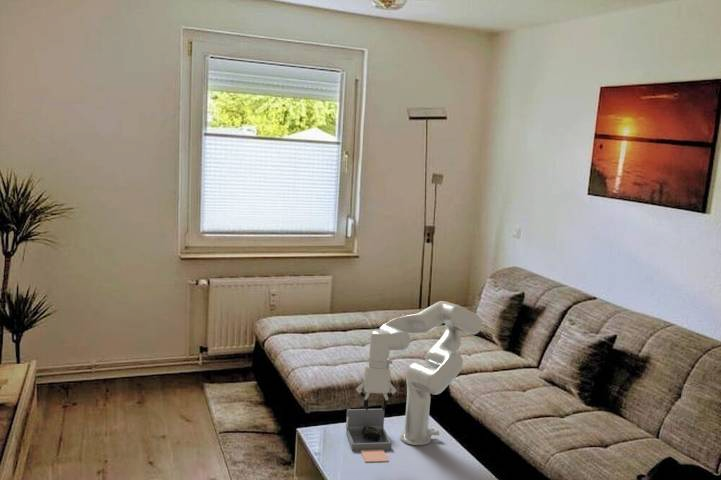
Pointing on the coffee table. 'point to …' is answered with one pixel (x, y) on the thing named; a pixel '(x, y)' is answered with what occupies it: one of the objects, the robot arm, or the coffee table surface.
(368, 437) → the tape measure
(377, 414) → the case
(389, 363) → the robot arm
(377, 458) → the mat
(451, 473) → the coffee table surface
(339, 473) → the coffee table surface
